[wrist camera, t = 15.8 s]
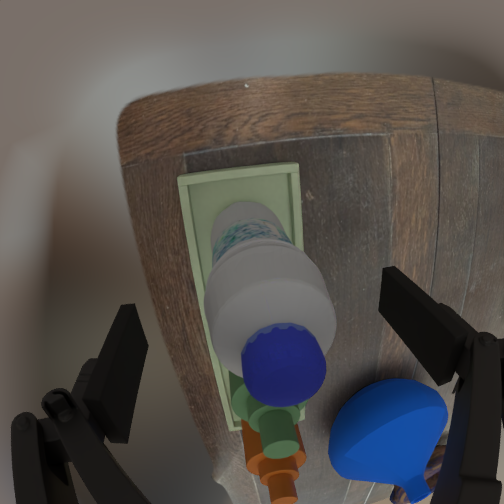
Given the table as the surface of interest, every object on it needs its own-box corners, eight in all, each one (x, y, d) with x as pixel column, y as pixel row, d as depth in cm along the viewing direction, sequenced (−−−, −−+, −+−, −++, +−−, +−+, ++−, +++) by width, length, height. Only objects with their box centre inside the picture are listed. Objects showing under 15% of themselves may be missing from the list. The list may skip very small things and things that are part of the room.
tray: (179, 174, 28) (176, 177, 26) (293, 161, 28) (298, 163, 26) (228, 420, 40) (229, 431, 38) (301, 409, 41) (304, 419, 39)
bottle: (259, 273, 31) (311, 447, 13) (197, 245, 29) (174, 418, 11) (293, 214, 29) (405, 345, 11) (229, 181, 28) (255, 283, 9)
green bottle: (217, 311, 32) (222, 438, 17) (276, 294, 32) (320, 413, 17) (235, 356, 35) (250, 477, 20) (289, 340, 35) (329, 456, 20)
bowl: (461, 425, 53) (480, 452, 43) (428, 465, 59) (442, 490, 50) (405, 443, 50) (423, 477, 41) (374, 482, 56) (387, 512, 47)
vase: (425, 340, 39) (499, 430, 21) (417, 410, 46) (463, 486, 28) (307, 387, 39) (350, 509, 21) (324, 448, 46) (353, 538, 28)
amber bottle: (231, 384, 36) (243, 498, 21) (281, 371, 36) (313, 482, 21) (246, 414, 39) (260, 516, 24) (291, 402, 39) (320, 502, 24)
